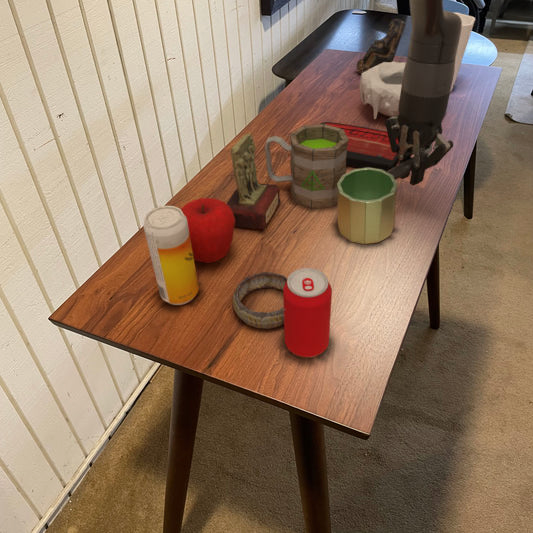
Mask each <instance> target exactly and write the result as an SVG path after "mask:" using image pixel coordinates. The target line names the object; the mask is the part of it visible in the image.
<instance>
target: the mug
mask: <svg viewBox="0 0 533 533" xmlns="http://www.w3.org/2000/svg"><path fill="white" fill-rule="evenodd" d="M289 139H290V144H288V143H287V142H286V141H285V139H283V138H282V137H280V136H277V135H274V136H270V137H268V138H267V139H266V143H265V145H264V154H265V160H266V162H265V163H266V171H267V175H268V176H269V178H270V180H271V181H274V182H276V183H284V182H290V194H291V197H292V200H293V202H294V203H296V204H298V205H300V206H304V207H305V208H308V209H311V210H314V209H323V208H333V207H335V205H337V183H338V181H339V180H340V178H341V176H342V175H344V174H346V173H347V166H346V152H347V146H348V141H349V140H348V138H347V136H346V134H345V132H344V130H343V129H340V128H336V127H333V126H330V125H327V124H321V123H319V124H307V125H306V124H305V125H302V126H300V127H299V128H297V129H296V130H294V131H293V132H291V133H290V134H289ZM271 143H276V144H279V147H281V148H282V149H283V150H285V151H286V152H290V161H289V165H290V174H285V175H280V176H279V175H277V174H275V173H274V170H273V164H272V162H273V161H272V152H271V149H270V145H271Z"/></svg>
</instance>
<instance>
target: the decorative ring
mask: <svg viewBox="0 0 533 533" xmlns="http://www.w3.org/2000/svg"><path fill="white" fill-rule="evenodd" d="M287 280H288V277H286V276H285V275H283V274H280V273H277V272H271V271H269V272H268V271H263V272H257V273H253V274H251V275H249V276H247V277H244V279H243V280H241V281H240V282H239V283H238V284H237V286H236V288H235V289H234V292H233V295H232V308H233V309H234V312H235V313H236V315H237V317H238V318H239V319H240V320H241V321H243V322H244V323H245V324H246V325H248V326H251V327H253V328H256V329H264V330H269V329H273V328H279V327H281V326H284V306H283V307H281V308H280V309H277V310H273V311H268V312H267V311H266V312H264V311H256V310H253V309H250V308H247V306H245V305H244V304H243V303H242V301H243V299H244V298H245V297H246V296H247V295H248V294H251V293H253V292H254V291H257V290H263V289H275V290H278V291H281V292H283V289H284V285H285V283H286V282H287Z"/></svg>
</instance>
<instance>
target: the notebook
mask: <svg viewBox="0 0 533 533" xmlns="http://www.w3.org/2000/svg"><path fill="white" fill-rule="evenodd" d="M320 124H327V125H330V126H333V127H336V128H340V129H343V130H344V132H345V134H346V136H347V138H348V140H349V141H348V146H347V152H346V167H352V168H355V169H360V168H367V167H370V168H376V169H382V170H384V171H388V170H390V169H392V168H394V167H396V166H397V165H398V163H399V160H400V159H399V158H398V154H397V153H396V152H395V153H393V152H392V150H391V146H390V142H389V137H388V133H387V130H381V129H376V128H371V127H366V126H365V127H364V126H359V125H352V124H346V123H341V122H333V121H332V122H331V121H324V122H323V121H322V122H321V123H320ZM396 142H397V144H399V143H398V139H397V137H396Z"/></svg>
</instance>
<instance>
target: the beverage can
mask: <svg viewBox="0 0 533 533" xmlns="http://www.w3.org/2000/svg"><path fill="white" fill-rule="evenodd" d="M287 278H288V280H287V282H286V283H285V285H284V289H283V291H282V293H283V294H282V295H283V298H282V299H283V307H284V324H283V330H284V344H285V347H286V348H287V349H288V350H289V352H291V353H293V355H296V356H298V357H303V358H312V357H316V356H319V355H321V354H322V353H323V352H325V351H326V349H327V348H328V346H329V343H330V333H331V332H330V330H331V315H332V314H331V313H332V300H333V299H332V297H333V288H332V285H331V283H330V281H329V278H328V276H327V274H326V273H325V272H323V271H321V270H319V269H318V268H315V267H314V268H313V267H301V268H298V269H295V270H294V271H292V272H291V273H290V274H289V275H288V276H287Z"/></svg>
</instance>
